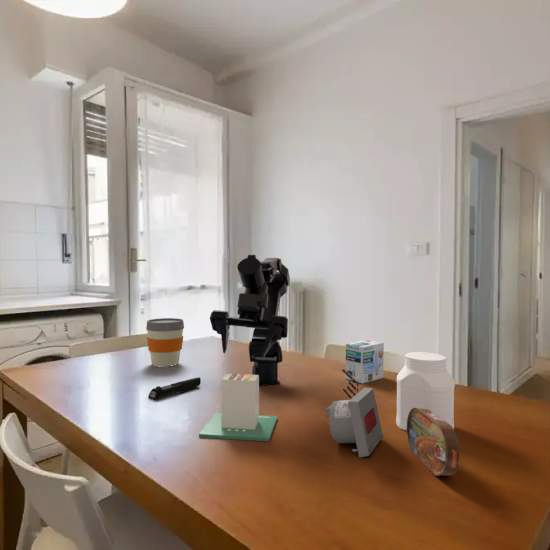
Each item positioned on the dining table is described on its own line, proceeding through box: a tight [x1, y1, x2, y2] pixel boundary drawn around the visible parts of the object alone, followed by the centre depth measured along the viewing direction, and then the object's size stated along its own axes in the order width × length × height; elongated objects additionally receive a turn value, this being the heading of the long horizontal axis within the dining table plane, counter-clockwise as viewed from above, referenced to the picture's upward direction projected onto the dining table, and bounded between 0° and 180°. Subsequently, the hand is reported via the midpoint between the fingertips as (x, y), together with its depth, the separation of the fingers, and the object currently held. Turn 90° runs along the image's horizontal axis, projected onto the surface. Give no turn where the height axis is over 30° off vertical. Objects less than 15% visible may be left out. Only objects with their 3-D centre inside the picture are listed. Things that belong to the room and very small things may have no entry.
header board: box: [198, 412, 278, 442], centre depth 87 cm, size 12×14×4 cm
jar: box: [395, 351, 456, 431], centre depth 88 cm, size 12×10×15 cm
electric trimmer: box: [148, 376, 201, 401], centre depth 111 cm, size 4×16×3 cm, turn 139°
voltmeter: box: [324, 368, 384, 458], centre depth 86 cm, size 27×11×10 cm, turn 6°
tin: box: [406, 408, 461, 477], centre depth 72 cm, size 15×3×8 cm, turn 5°
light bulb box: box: [345, 339, 385, 384], centre depth 125 cm, size 11×7×11 cm, turn 131°
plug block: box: [220, 373, 260, 430], centre depth 87 cm, size 4×7×10 cm, turn 82°
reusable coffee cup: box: [145, 317, 185, 367], centre depth 142 cm, size 13×13×15 cm
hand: (243, 354), depth 96 cm, fingers open, 9 cm apart
